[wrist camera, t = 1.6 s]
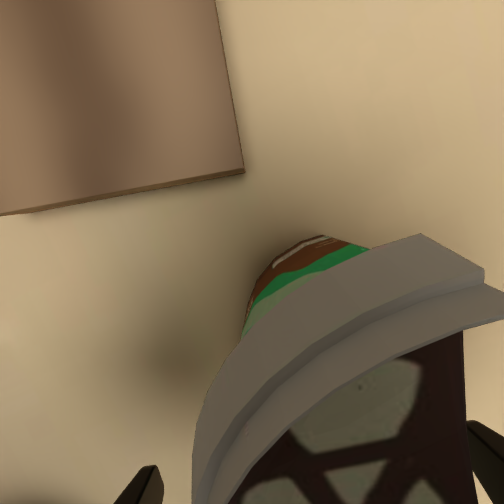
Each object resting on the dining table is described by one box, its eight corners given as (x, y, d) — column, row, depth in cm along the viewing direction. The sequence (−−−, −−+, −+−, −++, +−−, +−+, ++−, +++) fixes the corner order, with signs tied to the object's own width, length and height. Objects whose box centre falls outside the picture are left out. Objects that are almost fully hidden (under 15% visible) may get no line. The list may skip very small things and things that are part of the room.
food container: (198, 233, 13) (37, 369, 3) (317, 205, 13) (535, 263, 3) (253, 423, 16) (256, 793, 6) (351, 404, 16) (517, 764, 6)
